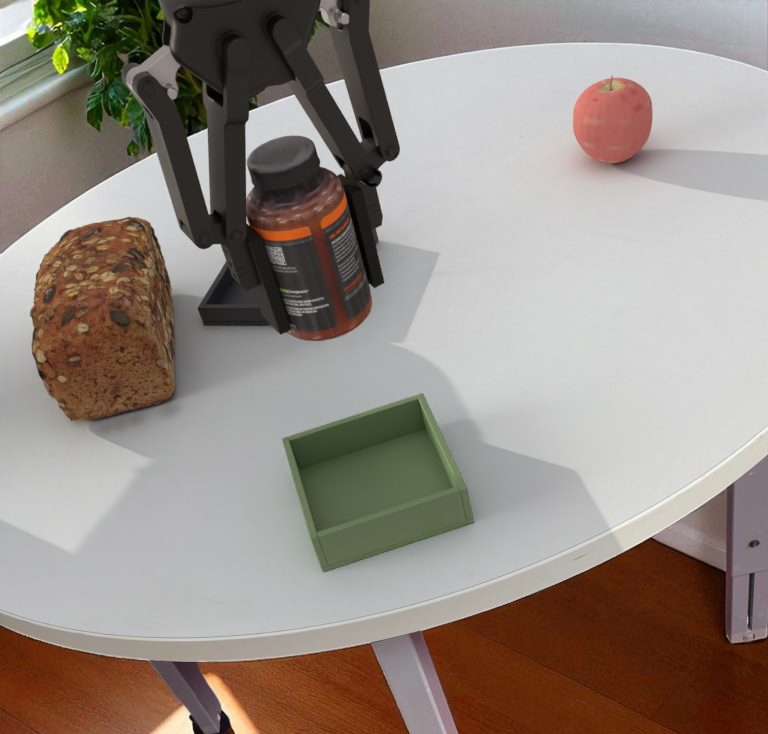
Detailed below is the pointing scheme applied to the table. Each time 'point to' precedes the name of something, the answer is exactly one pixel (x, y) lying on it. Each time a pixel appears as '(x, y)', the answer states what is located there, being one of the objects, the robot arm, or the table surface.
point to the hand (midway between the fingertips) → (323, 298)
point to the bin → (376, 482)
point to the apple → (613, 119)
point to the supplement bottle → (308, 239)
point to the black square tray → (233, 301)
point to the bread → (104, 320)
